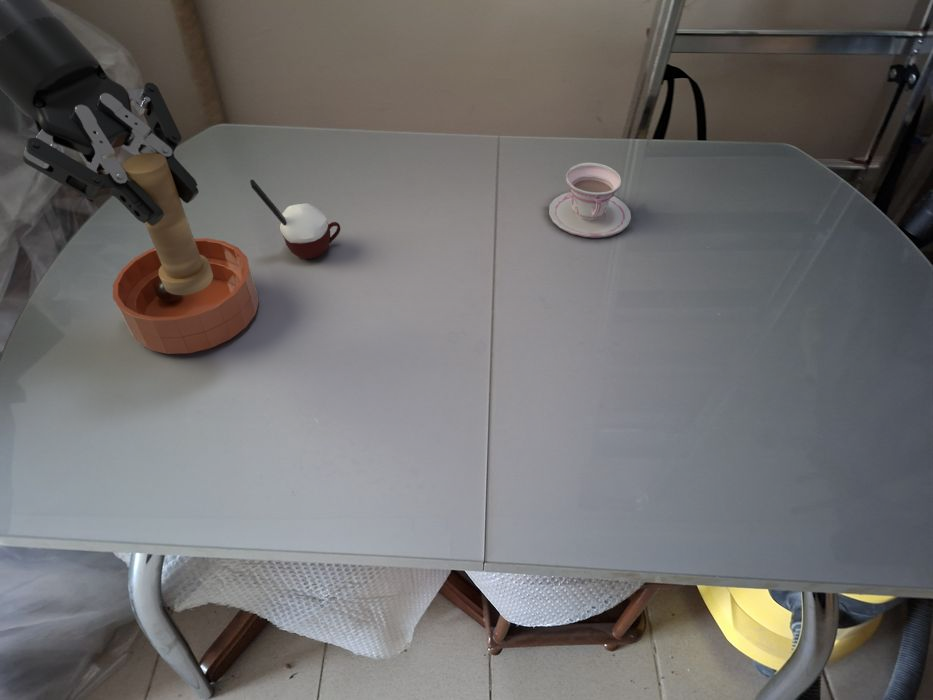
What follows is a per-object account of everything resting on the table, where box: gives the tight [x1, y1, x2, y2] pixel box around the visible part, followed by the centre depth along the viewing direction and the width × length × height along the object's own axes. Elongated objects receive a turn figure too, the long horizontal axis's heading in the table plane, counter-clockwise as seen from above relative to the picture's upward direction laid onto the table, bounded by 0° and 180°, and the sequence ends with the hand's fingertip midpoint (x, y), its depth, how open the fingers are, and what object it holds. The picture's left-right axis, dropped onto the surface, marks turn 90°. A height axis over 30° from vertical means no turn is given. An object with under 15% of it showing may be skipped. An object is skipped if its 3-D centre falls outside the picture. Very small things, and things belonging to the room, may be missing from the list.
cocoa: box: [249, 179, 341, 260], centre depth 86 cm, size 10×6×12 cm, turn 89°
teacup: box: [548, 162, 632, 239], centre depth 95 cm, size 12×12×6 cm
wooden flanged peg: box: [122, 153, 213, 295], centre depth 62 cm, size 5×5×13 cm
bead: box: [156, 281, 181, 303], centre depth 81 cm, size 3×3×3 cm
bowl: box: [112, 237, 260, 355], centre depth 79 cm, size 15×15×6 cm
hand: (175, 207), depth 59 cm, fingers closed on wooden flanged peg, 3 cm apart
